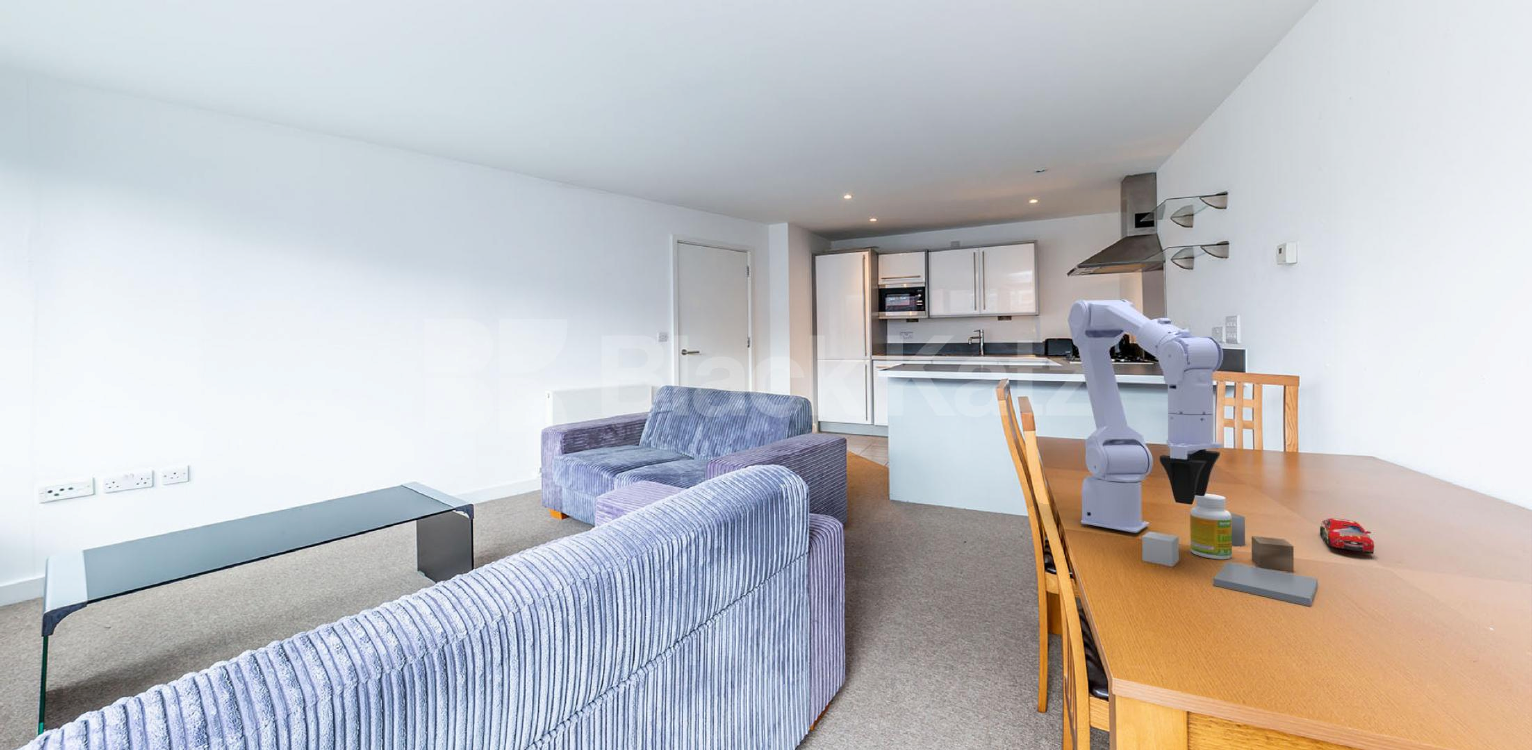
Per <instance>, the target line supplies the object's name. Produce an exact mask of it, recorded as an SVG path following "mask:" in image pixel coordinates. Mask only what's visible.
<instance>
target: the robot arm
mask: <svg viewBox="0 0 1532 750" xmlns="http://www.w3.org/2000/svg"><path fill="white" fill-rule="evenodd" d="M1067 322H1068V326H1069V330H1070V331H1069V332H1070V335H1071V339H1072V343H1073V345H1074V346H1075V347H1077V348H1078V353H1079V354H1078V355H1079V359H1080V362H1081V367H1082V370H1083V375H1084V379H1085V383H1086V389H1087V393H1088V397H1089V401H1090V405H1091V410H1092V415H1093V421H1094V424H1095V428H1096V430H1095V431H1094V432H1093V433H1091V434H1090V435H1088V437H1087V438H1086V439H1085V441H1084V444H1085V458H1084V459H1085V464H1086V468H1087V470H1088V471H1089V473H1090V474H1091V475H1087V476H1085V477H1084V479H1083V482H1082V485H1081V486H1082V487H1081V520H1080V523H1081V524H1083V525H1090V526H1091V525H1092V526H1095V527H1102V528H1106V529H1112V530H1113V529H1114V530H1118V531H1124V532H1129V533H1135V534H1136V533H1138V532H1140V531H1141V530H1143V529H1145V528H1146V527H1147V526H1149V524H1150V522H1148V521H1145V520H1144V521H1143V520H1142V481H1146V476H1148V475H1149V474H1150V473H1151V471H1152V468H1153V465H1154V460H1153V459H1154V458H1153V455H1152V453H1151V451H1150V449H1149V447H1147V445H1146V442H1145V440H1144V436H1143V434H1141V433H1139V432H1138V431H1136V430H1135V429H1133V428H1132V427H1130V426H1129V425H1128V422H1127V419H1126V414H1125V410H1124V409H1125V408H1124V405H1123V402H1122V398H1121V394H1120V389H1119V387H1118V386H1119V385H1118V382H1117V378H1116V375H1115V370H1114V366H1113V361H1112V358H1111V355H1110V349H1111V348H1112V347H1114V346H1116V345H1118V344H1120V343H1119V342H1121V340H1122V338H1123V336H1124V335H1125V334H1126V333H1128V334H1130V335H1132V336H1134V337H1135V338H1136V339H1135V340H1136V344H1137V345H1138V347H1140V348H1141V349H1143V350H1144V351H1145V352H1147V353H1148V354H1150V355H1152V356H1154V357H1155V358H1156V359H1158V363H1159V367H1160V369H1161V371H1162V372H1163V373H1162V374H1163V381H1164V384H1165V385H1167V439H1166V446H1168V447H1169V455H1165V454H1162V455H1160V456H1159V462H1160V464H1161V466H1162V467H1163V468H1164V470H1165V472H1166V475H1167V477H1168V481H1169V484H1170V488H1171V492H1172V495H1173V499H1174V501H1175V503H1177V504H1184V505H1191V506H1192V505H1193V503H1194V502H1195V495H1196V496H1205V494H1207V490H1208V486H1209V482H1210V476H1211V473H1212V471H1213V468H1214V466H1215V464H1216V463H1217V460H1218V458H1219V457H1220V454H1221V452H1220V451H1213V450H1211V449H1222V448H1223V447H1224V443H1223V442H1219V441H1217V442H1215V441H1214V419H1213V418H1214V391H1213V390H1214V388H1213V387H1214V373H1216V371H1217V370H1219V369H1220V367H1221V365H1222V363H1223V360H1224V351H1223V347H1222V345H1221V344H1220V342H1219V341H1218V340H1217V339H1215V338H1214V337H1213V336H1210V335H1209V336H1208V335H1206V336H1205V335H1203V336H1201V337H1196V336H1195V335H1193V334H1191V331H1190V330H1188V329H1185V328H1184V329H1183V328H1180V327H1178V326H1176V325H1174V324H1173V323H1172V320H1171V319H1170V318H1168V317H1158V318H1154V319H1149V318H1148V317H1147V316H1146V315H1144V314H1142V313H1141V312H1140V311H1138V310H1137V309H1135V305H1134V303H1133V302H1131V301H1129V300H1127V299H1125V298H1123V299H1113V300H1112V299H1110V300H1109V299H1103V300H1102V299H1100V300H1099V299H1098V300H1096V299H1093V300H1084V299H1077V300H1076V301H1075V302H1074V303H1073V304H1072V306H1071V308H1070V311H1069V314H1068V319H1067Z"/></svg>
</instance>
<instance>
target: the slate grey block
mask: <svg viewBox="0 0 1532 750" xmlns="http://www.w3.org/2000/svg"><path fill="white" fill-rule="evenodd" d="M1230 514H1231V519H1232V547H1244V546H1246V517H1245V516H1243V515H1240V514H1235V513H1230Z"/></svg>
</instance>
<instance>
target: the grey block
mask: <svg viewBox="0 0 1532 750" xmlns="http://www.w3.org/2000/svg"><path fill="white" fill-rule="evenodd" d="M1141 538H1142V540H1141V541H1142V542H1141V544H1142V546H1141V548H1142V549H1141V551H1142V552H1141V553H1142V554H1141V555H1142V557H1141V558H1142V560H1141V561H1142V562H1147V563H1153V564H1157V565H1162V566H1168V567H1174V566H1175V565H1176V564H1177V563H1178V562H1179V561H1180V555H1179V554H1180V550H1179V549H1180V547H1179V546H1180V544H1179V543H1180V540H1179V536H1178V535H1173V534H1168V533H1167V534H1166V533H1163V532H1162V533H1161V532H1157V531H1156V532H1155V531H1148V532H1147V533H1145V534H1144V535H1142V536H1141Z"/></svg>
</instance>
